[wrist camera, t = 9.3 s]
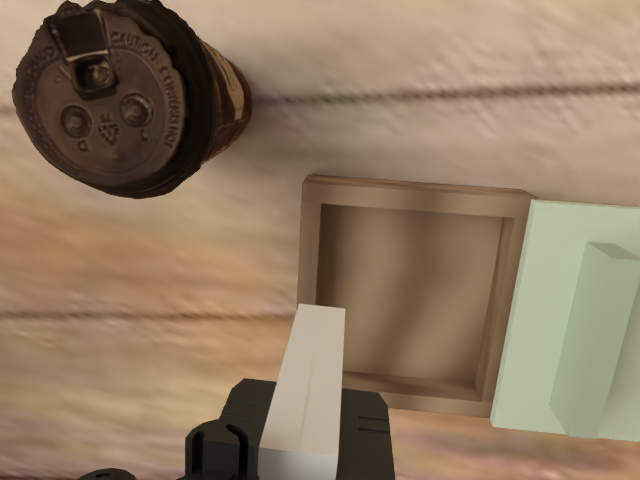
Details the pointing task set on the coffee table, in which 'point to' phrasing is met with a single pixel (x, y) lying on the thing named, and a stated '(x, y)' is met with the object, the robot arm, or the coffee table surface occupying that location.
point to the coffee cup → (127, 97)
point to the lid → (574, 325)
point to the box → (415, 284)
